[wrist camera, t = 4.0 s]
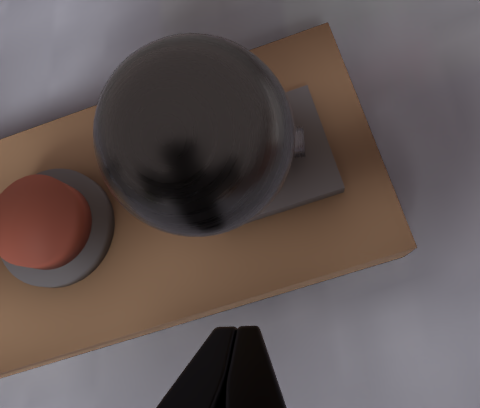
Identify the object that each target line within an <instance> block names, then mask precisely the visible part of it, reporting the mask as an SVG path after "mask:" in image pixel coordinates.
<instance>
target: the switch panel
mask: <svg viewBox="0 0 480 408" xmlns="http://www.w3.org/2000/svg"><path fill="white" fill-rule="evenodd" d="M249 51H250V52H252V53H253V54H255V55H256V56H257V57H258V58H259V59H260V60H261V61H263V62H264V63H265V64H266V65H267V66H268V67H269V68H270V70H271V71H272V72H273V73H274V75H275V76H276V77H277V78H278V80H279V82H280V83H281V85H282V87H283V88H284V90H285V93H286V95H287V97H288V100H289V102H290V106H291V109H292V113H293V117H294V124H295V127H297V126H303V128H304V140H305V154H306V157H298V158H293V160H292V164H291V168H290V171H289V173H288V176H287V178H286V181H285V182H284V184H283V186H282V188H281V190H280V191H279V193H278V194H277V195H276V197H275V198H274V200H273V201H272V202H271V203H270V204H269V205H268V206H267V207H266V208H265V209H264V210H263V211H262V212H261V213H260V214H259V215H257V216H256V217H255V218H253V219H252V220H250V221H249V222H247V223H245V224H244V225H242V226H240V227H238V228H236V229H233V230H231V231H229V232H226V233H222V234H218V235H213V236H206V237H186V236H178V235H173V234H169V233H165V232H162V231H160V230H157V229H155V228H152V227H150V226H149V225H147V224H145V223H143V222H142V221H140V220H138V219H137V218H136V217H134V216H133V215H132V214H131V213H129V212H128V211H127V210H126V209H125V208H124V207H123V206H122V205H121V204H120V203H119V202H118V201H117V200H116V198H115V197H114V196H113V195H112V193H111V192H110V190H109V188H108V187H107V185H106V183H105V182H104V179H103V177H102V175H101V173H100V170H99V167H98V164H97V161H96V157H95V151H94V144H93V123H94V117H95V111H96V107H97V105H95V106H93V107H90V108H87V109H84V110H81V111H79V112H76V113H73V114H70V115H67V116H65V117H62V118H59V119H56V120H53V121H51V122H48V123H45V124H42V125H39V126H37V127H34V128H31V129H28V130H25V131H23V132H20V133H17V134H14V135H11V136H9V137H6V138H3V139H0V378H3V377H7V376H10V375H13V374H17V373H20V372H23V371H26V370H30V369H33V368H36V367H40V366H43V365H46V364H50V363H53V362H56V361H60V360H63V359H66V358H70V357H73V356H76V355H80V354H83V353H86V352H90V351H93V350H96V349H99V348H103V347H106V346H109V345H113V344H116V343H119V342H123V341H126V340H129V339H133V338H136V337H139V336H143V335H146V334H149V333H153V332H156V331H159V330H163V329H166V328H169V327H173V326H176V325H179V324H182V323H186V322H189V321H192V320H196V319H199V318H202V317H206V316H209V315H212V314H216V313H219V312H222V311H226V310H229V309H232V308H236V307H239V306H242V305H246V304H249V303H252V302H255V301H259V300H262V299H265V298H269V297H272V296H275V295H279V294H282V293H285V292H289V291H292V290H295V289H299V288H302V287H305V286H309V285H312V284H315V283H319V282H322V281H325V280H329V279H332V278H335V277H338V276H342V275H345V274H348V273H352V272H355V271H358V270H362V269H365V268H368V267H372V266H375V265H378V264H382V263H385V262H388V261H392V260H395V259H398V258H402V257H404V256H406V255H407V254H409V253H410V252H411V251H413V250H414V249H415V248H417V246H416V243H415V241H414V238H413V236H412V233H411V231H410V228H409V226H408V223H407V221H406V218H405V216H404V213H403V210H402V208H401V205H400V203H399V200H398V198H397V195H396V193H395V190H394V188H393V185H392V183H391V180H390V178H389V175H388V173H387V170H386V168H385V165H384V163H383V160H382V158H381V155H380V152H379V150H378V147H377V145H376V142H375V140H374V137H373V135H372V132H371V130H370V127H369V125H368V122H367V120H366V117H365V115H364V112H363V110H362V107H361V105H360V102H359V100H358V97H357V94H356V92H355V89H354V87H353V84H352V82H351V79H350V77H349V74H348V72H347V69H346V67H345V64H344V62H343V59H342V57H341V54H340V52H339V49H338V47H337V44H336V42H335V39H334V36H333V34H332V31H331V29H330V26H329V24H328V22H327V23H325V24H322V25H319V26H316V27H313V28H311V29H308V30H305V31H302V32H299V33H297V34H294V35H291V36H288V37H285V38H283V39H280V40H277V41H274V42H271V43H269V44H266V45H263V46H260V47H257V48H255V49H252V50H249Z"/></svg>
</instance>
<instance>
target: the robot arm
mask: <svg viewBox="0 0 480 408" xmlns="http://www.w3.org/2000/svg"><path fill="white" fill-rule="evenodd" d="M156 408H287V407H286V405H285V402H284V399H283V396H282V393H281V390H280V387H279V384H278V381H277V378H276V375H275V372H274V369H273V366H272V363H271V360H270V357H269V354H268V351H267V348H266V346H265V343H264V340H263V337H262V334H261V331H260V328H259V327H258V326H240V327H239V328H238V329H237V328H236V327H217V328H215V329H214V330H213V332H212V333H211V334H210V336H209V337H208V338H207V340H206V341H205V342H204V344H203V345H202V346H201V348H200V349H199V350H198V352H197V353H196V355H195V356H194V357H193V359H192V360H191V361H190V363H189V364H188V365H187V367H186V368H185V369H184V371H183V372H182V374H181V375H180V376H179V378H178V379H177V380H176V382H175V383H174V384H173V386H172V387H171V388H170V390H169V391H168V392H167V394H166V395H165V397H164V398H163V399H162V401H161V402H160V403H159V405H158V406H157V407H156Z"/></svg>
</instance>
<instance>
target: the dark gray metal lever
mask: <svg viewBox="0 0 480 408" xmlns="http://www.w3.org/2000/svg"><path fill="white" fill-rule="evenodd" d="M93 144H94V151H95V157H96V161H97V164H98V167H99V170H100V173H101V175H102V177H103V179H104V182H105V183H106V185H107V187H108V188H109V190H110V192H111V193H112V195H113V196H114V197H115V198H116V200H117V201H118V202H119V203H120V204H121V205H122V206H123V207H124V208H125V209H126V210H127V211H128V212H129V213H131V214H132V215H133V216H134V217H136V218H137V219H138V220H140V221H142V222H143V223H145V224H147V225H149V226H150V227H152V228H155V229H157V230H160V231H162V232H165V233H169V234H173V235H178V236H186V237H206V236H213V235H218V234H222V233H226V232H229V231H231V230H233V229H236V228H238V227H240V226H242V225H244V224H245V223H247V222H249V221H250V220H252V219H253V218H255V217H256V216H257V215H259V214H260V213H261V212H262V211H263V210H264V209H265V208H266V207H267V206H268V205H269V204H270V203H271V202H272V201H273V200H274V198H275V197H276V195H277V194H278V193H279V191H280V190H281V188H282V186H283V184H284V182H285V181H286V178H287V176H288V173H289V171H290V168H291V164H292V160H293V158H298V157H306V154H305V140H304V128H303V126H297V127H295V124H294V117H293V113H292V109H291V106H290V102H289V100H288V97H287V95H286V93H285V90H284V88H283V87H282V85H281V83H280V82H279V80H278V78H277V77H276V76H275V75H274V73H273V72H272V71H271V70H270V68H269V67H268V66H267V65H266V64H265V63H264V62H263V61H261V60H260V59H259V58H258V57H257V56H256V55H255V54H253V53H252V52H250V51H249V50H248V49H246V48H244V47H243V46H241V45H239V44H237V43H235V42H233V41H230V40H227V39H224V38H222V37H217V36H212V35H207V34H196V33H188V34H177V35H172V36H168V37H164V38H162V39H159V40H156V41H153V42H151V43H149V44H147V45H145V46H143V47H141V48H140V49H138V50H137V51H135V52H134V53H133V54H131V55H130V56H129V57H127V58H126V59H125V60H124V61H123V62H122V63H121V64H120V65H119V66H118V68H117V69H116V70H115V71H114V72H113V74H112V75H111V77H110V78H109V80H108V81H107V83H106V85H105V87H104V89H103V91H102V93H101V95H100V98H99V101H98V104H97V107H96V111H95V117H94V123H93Z"/></svg>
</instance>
